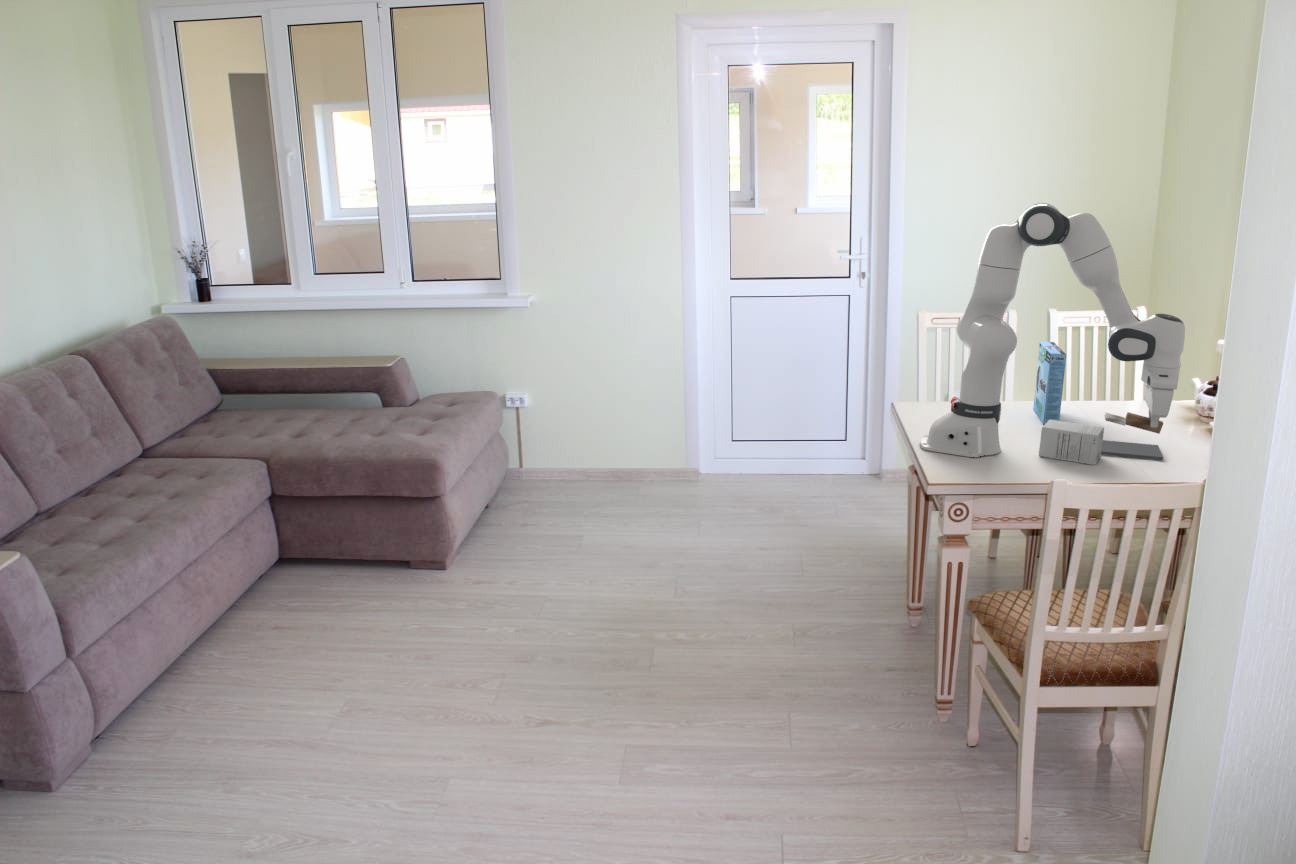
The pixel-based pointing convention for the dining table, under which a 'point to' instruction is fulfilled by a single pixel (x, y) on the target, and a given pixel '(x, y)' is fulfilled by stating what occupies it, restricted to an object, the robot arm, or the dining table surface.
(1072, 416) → the dining table surface
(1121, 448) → the tool mat
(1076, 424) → the supplement box
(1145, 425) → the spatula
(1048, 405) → the gum box
